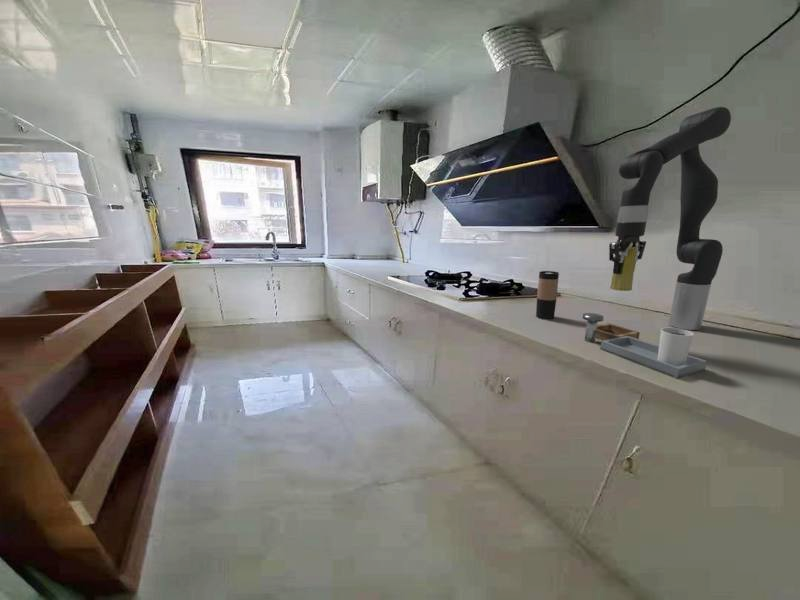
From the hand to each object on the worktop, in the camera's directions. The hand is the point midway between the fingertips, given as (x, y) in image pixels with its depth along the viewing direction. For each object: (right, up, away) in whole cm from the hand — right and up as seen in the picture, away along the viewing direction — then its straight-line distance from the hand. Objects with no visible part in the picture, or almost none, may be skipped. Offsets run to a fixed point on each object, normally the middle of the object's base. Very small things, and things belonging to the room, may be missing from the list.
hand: (623, 273), depth 99 cm
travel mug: (-11, -17, +32) cm, 38 cm away
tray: (0, -27, -10) cm, 29 cm away
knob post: (-8, -23, +5) cm, 25 cm away
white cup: (+2, -28, -15) cm, 32 cm away
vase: (0, -6, +1) cm, 6 cm away
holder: (+1, -23, +7) cm, 24 cm away
